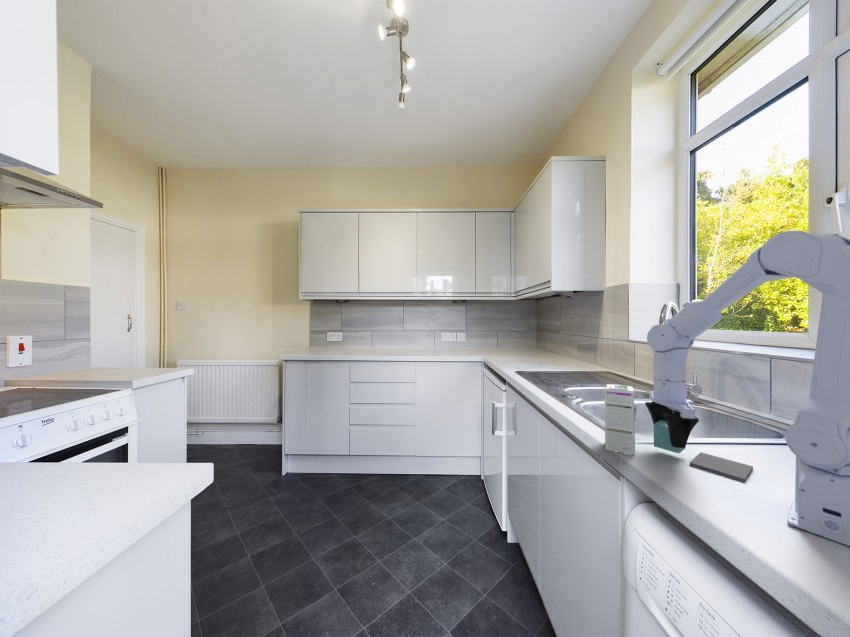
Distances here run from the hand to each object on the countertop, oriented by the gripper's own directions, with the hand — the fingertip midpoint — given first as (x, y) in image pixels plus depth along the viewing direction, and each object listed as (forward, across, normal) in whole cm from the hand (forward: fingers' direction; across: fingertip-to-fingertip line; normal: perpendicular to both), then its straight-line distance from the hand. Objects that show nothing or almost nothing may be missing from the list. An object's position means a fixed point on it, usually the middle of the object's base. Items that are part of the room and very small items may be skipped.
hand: (669, 440), depth 68 cm
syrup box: (+3, +1, +9) cm, 10 cm away
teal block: (+1, 0, 0) cm, 1 cm away
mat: (+3, -4, -7) cm, 9 cm away
